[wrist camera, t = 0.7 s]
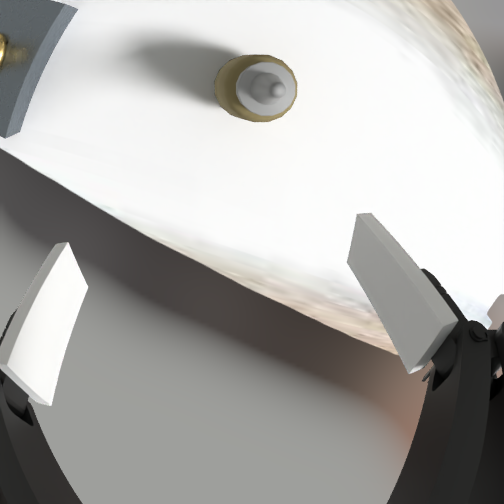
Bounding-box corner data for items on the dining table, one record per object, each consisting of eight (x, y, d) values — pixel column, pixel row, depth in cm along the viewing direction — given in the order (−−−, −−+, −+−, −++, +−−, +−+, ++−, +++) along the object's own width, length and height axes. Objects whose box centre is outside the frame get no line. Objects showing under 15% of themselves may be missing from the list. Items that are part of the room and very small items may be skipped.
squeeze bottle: (236, 46, 27) (260, 13, 12) (289, 79, 30) (355, 82, 16) (201, 96, 30) (191, 108, 16) (254, 127, 34) (291, 167, 19)
